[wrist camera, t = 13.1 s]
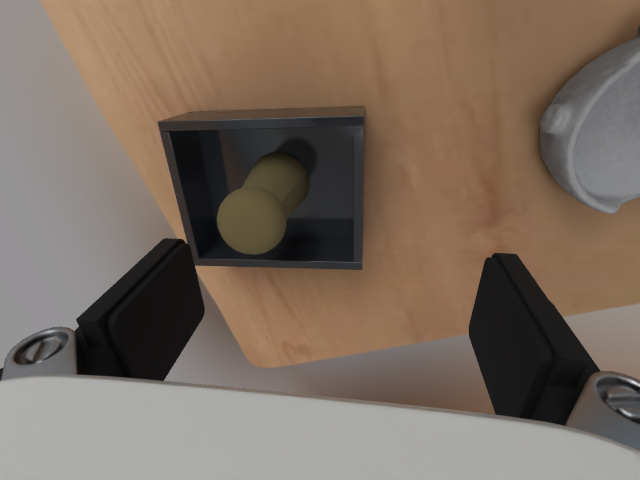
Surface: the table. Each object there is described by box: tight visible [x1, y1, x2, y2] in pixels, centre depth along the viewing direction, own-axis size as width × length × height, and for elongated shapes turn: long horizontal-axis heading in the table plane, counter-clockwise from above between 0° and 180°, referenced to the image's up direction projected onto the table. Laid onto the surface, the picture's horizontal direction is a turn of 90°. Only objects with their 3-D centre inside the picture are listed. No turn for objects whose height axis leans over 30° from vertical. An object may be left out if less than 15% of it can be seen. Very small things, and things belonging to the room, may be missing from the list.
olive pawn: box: [217, 152, 309, 255], centre depth 30 cm, size 6×6×11 cm
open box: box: [158, 106, 365, 270], centre depth 33 cm, size 14×17×6 cm
